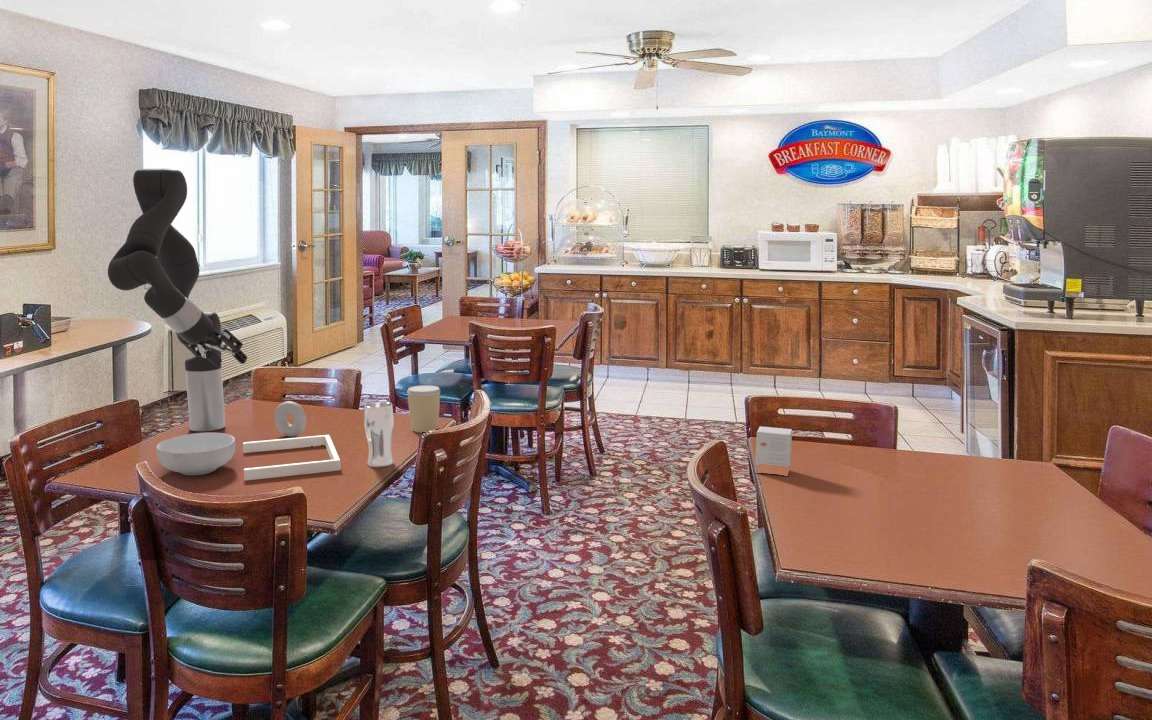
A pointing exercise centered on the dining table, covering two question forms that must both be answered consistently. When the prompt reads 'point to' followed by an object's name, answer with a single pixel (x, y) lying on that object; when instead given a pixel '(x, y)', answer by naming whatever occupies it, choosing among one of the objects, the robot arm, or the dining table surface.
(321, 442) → the bowl bay
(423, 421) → the coffee cup
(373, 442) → the beer glass
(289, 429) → the donut
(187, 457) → the cereal bowl
